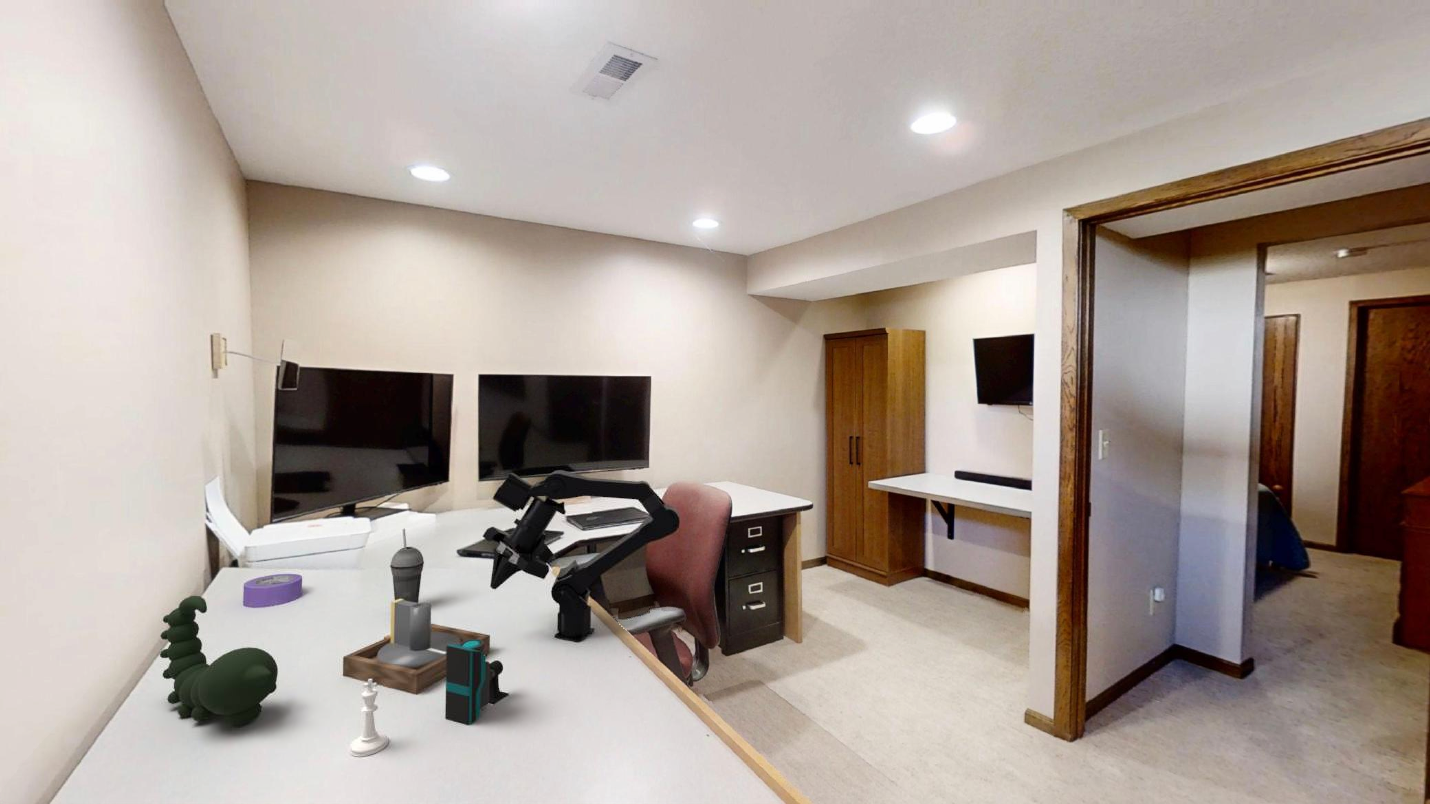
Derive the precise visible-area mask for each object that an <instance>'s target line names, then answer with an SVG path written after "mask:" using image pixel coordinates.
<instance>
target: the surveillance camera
mask: <svg viewBox="0 0 1430 804" xmlns="http://www.w3.org/2000/svg"><path fill="white" fill-rule="evenodd" d="M503 670H504V665H503V663H502V662H501V661H500V660H493V661H492V662H489V661H487V660H486V655H484V641H483V640H481V639H471V640H466V641H464V642H462V643H460V644H459V646H457V645H453V644H448V645H446V678H445V713H444V714H445V716H444V718H445V720H447V721H452V722H454V723H458V724H460V725H461V724H462V725H464V726H471V725H472V724H473V723H475V721H477V720H478V718H479V717H480V716H481V710H482V709H483V708H485V707H486V706H488V705H489V704H490V705H494V706H495V705H496V704H497V703H499V702H500V701H501V700H503V699H505V698H506V697H507V696H509V692H506V691H502V690H501V689H500V685H499V675H501V674H502V673H503Z"/></svg>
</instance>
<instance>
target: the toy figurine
mask: <svg viewBox="0 0 1430 804" xmlns="http://www.w3.org/2000/svg"><path fill="white" fill-rule="evenodd" d="M207 605H208V604H207V602H206V600H205V598H203V597H202V596H199V595H190V596H188V597H185V598H184V599H182V600H181V601H180V602H179V605H178V607H177V608H174V609H173V610H171V612H170V613H169V614H166V615H164V616H163V618H162V621H163V622H164V623H165V624H167V625H168V626H169V628H167V630H165V629H164V631H163V632H161V634H160V638H161V639H162V640H166V641H168V642H169V643H170V644H169V645H168V648H166V649H165V648H164V649H163V650H161V651H160V654H159V657H160V658H161V659H169V661H170V663H169V664H168V667H167V668H166V669H164V670H163V673H162V678H164V679H166V680H170V679H172V680H174V681H173V691H171V693H169V694H168V696H167V702H168V704H171V705H175V704H179V703H181V705H179V708H178V710H177V714H178V716H179V717H182V718H183V717H184V718H186V717H189V716H191V718H192V719H193V720H194V721H196V722H202V721H205V720H207V719H208V718H209V717H210V716H211V715H213V713H214V714H216V715H221V716H223V715H225V716H226V721H227V724H228V725H229V726H231V727H234V728H236V727H241V726H244V725H247V724H250V723H251V722H253V721H255V720H256V719H257V718H258V717H259V716H260V714H261V713H262V708H263V707H262V705H261V702H262V701H264V700H265V699H266V698H267V697H268V696H270V695H271V694H272V693H275V691H276V690H277V688H278V687H277V686H278V685H277V680H278V673H279V671H278V670H279V669H278V665H277V661H276V660H275V659H274V657H273V656H272V655H271V654H270V653H268V651H265V650H263V649H261V648H258V647H242V648H238V649H237V648H236V649H233V650H230V651H228V652H226V653H224V654H223V655H220V656H219V657H218V658H216V659H215V660H214V661H212V662H211V663H210V664H208V661H207V657H206V655H205V653H204V652H202V649H203V643H202V640H201V638H199V636H198V635H199V631H200V627H199V624H198V622H197V621H195V620H196V616H197V614H196V611H197V610H198V612H199V613H201V614H205V613H207V612H208V607H207Z"/></svg>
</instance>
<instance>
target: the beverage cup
mask: <svg viewBox="0 0 1430 804" xmlns="http://www.w3.org/2000/svg"><path fill="white" fill-rule="evenodd" d="M406 538H407V537H406V529H405V528H402V539H403V548H400V549H398V550H397V551H396V552H395V554H393V556H392V559H391V561H390V564H389V565H390V566H389V568H390V570H391V575H392V583H393V584H392V585H393V596H394V601H395V600H398V599H404V600H405V601H410V602H415V603H419V599H420V598H419V597H420V589H421V583H422V582H421V580H422V572H423V569H424V564H425V561H424V557H423V554H422V552H421V551H420V550H419V549H418V548H416V547H414V546H407V539H406Z"/></svg>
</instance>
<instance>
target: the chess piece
mask: <svg viewBox="0 0 1430 804" xmlns="http://www.w3.org/2000/svg"><path fill="white" fill-rule="evenodd" d="M362 685H363V688H367V689H366V690H365V691H363V692H362V693H361V696H362V700H363V702H364V705H365V706H363V707H362V708H361V711H360V712H361V713H362V714H365V715H364V716H365V717H364V725H363V730H362V734H361V735H360V736H359V737H357V738H356V739H354V740H352V742H351V743H350V745H349V750H348V753H349V754H350V756H353V757H358V758H359V757H360V758H361V757H367V756H371V755H373V754H376V753H378V752H380V751H383V749H384V748H386V747H387V745H388V743H389V740H388V739H389V738H388V735H387V734H386V733H384V732H380V731H379V732H378V731H377V730H376V727H375V716H374V712H375V711H377V710H378V709H379V707H378V704H375V701H376V698H377V696H378V689H374V688H376V687H377V683H372V679H369V680H368V682H365V683H363V684H362Z"/></svg>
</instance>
